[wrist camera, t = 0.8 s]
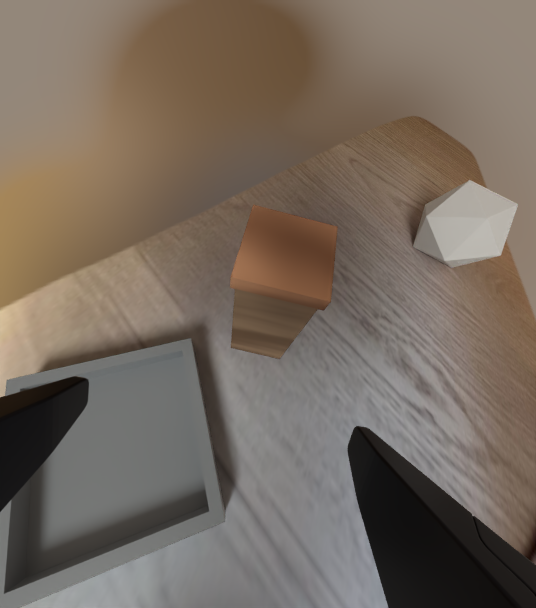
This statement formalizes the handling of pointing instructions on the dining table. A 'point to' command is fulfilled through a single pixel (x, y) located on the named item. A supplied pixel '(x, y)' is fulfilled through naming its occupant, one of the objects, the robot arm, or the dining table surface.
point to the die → (465, 225)
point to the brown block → (280, 279)
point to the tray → (113, 474)
